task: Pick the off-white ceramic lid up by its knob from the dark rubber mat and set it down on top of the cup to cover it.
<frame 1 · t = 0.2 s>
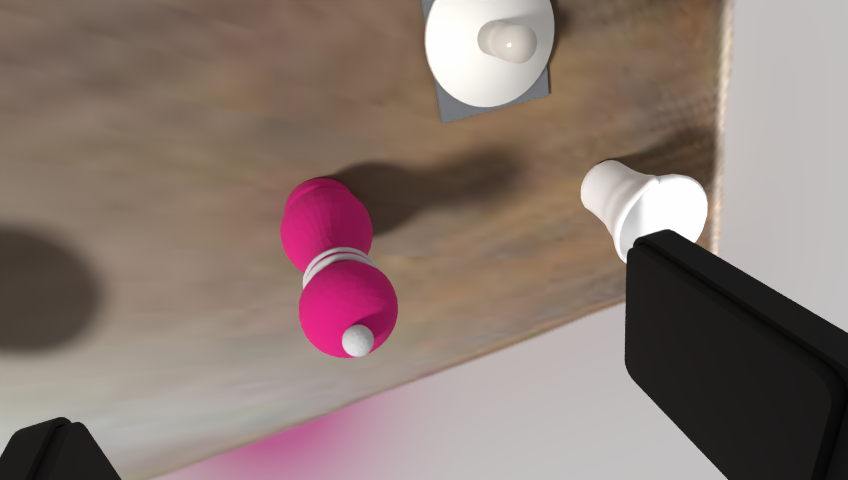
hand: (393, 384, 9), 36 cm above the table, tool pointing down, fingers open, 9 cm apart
mat: (486, 36, 43), on the table
cup: (598, 185, 53), on the table
pepper mill: (321, 210, 46), on the table
lid: (488, 37, 43), resting on mat
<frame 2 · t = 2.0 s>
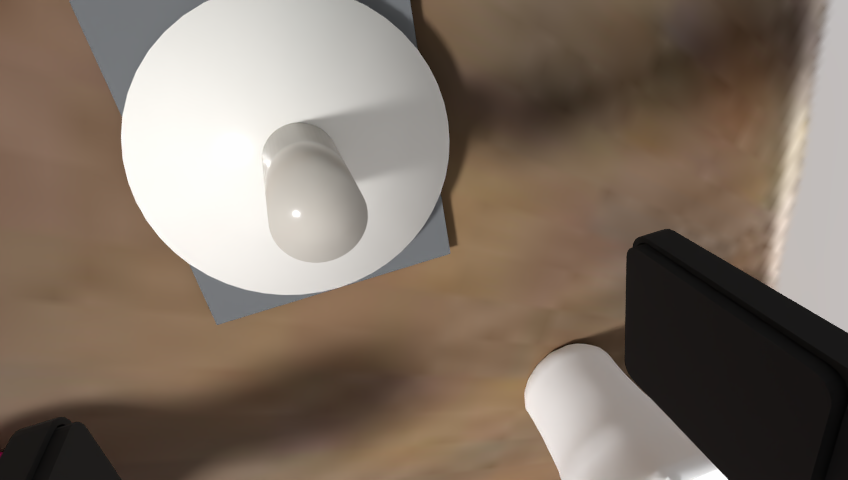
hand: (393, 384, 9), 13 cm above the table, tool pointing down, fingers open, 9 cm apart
mat: (297, 149, 19), on the table
cup: (557, 379, 30), on the table
lid: (298, 152, 19), resting on mat
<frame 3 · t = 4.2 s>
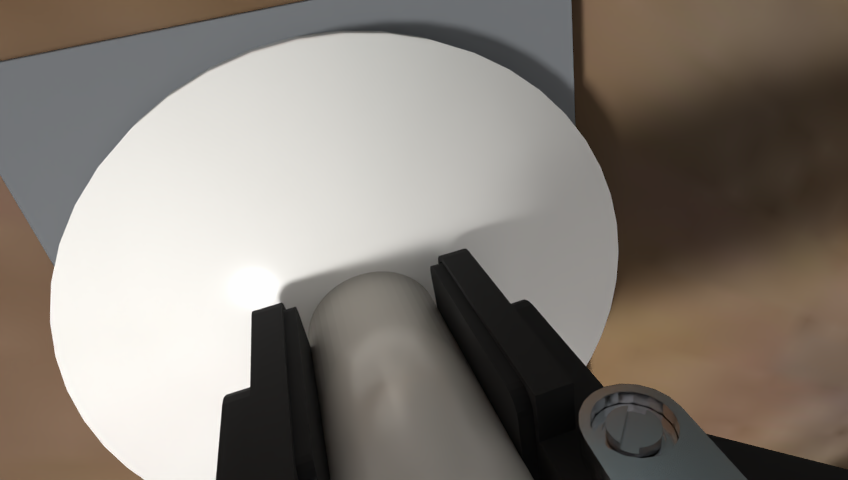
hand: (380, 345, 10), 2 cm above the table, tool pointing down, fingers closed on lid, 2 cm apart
mat: (364, 296, 12), on the table
lid: (367, 307, 11), point 1 cm above the table, touching gripper, mat
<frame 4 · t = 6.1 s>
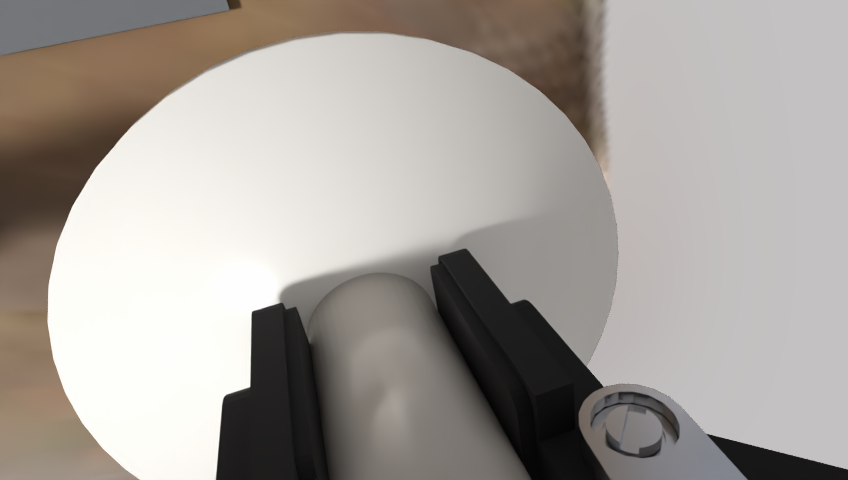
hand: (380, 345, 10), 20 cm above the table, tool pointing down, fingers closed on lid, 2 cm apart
lid: (366, 308, 11), point 19 cm above the table, touching gripper
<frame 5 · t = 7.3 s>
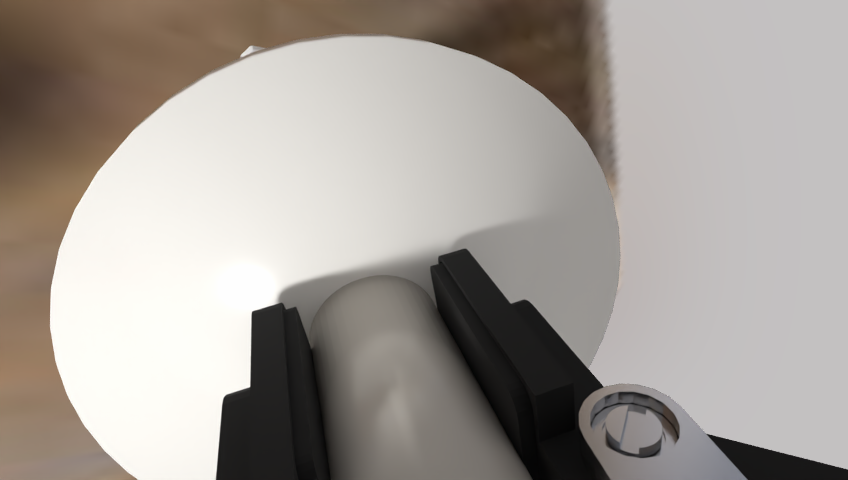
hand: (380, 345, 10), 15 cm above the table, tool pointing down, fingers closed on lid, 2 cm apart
lid: (368, 311, 11), point 14 cm above the table, touching gripper
when the fingers open (13 cm above the table, at t = 8.3 s): lid drops 2 cm, resting on cup.
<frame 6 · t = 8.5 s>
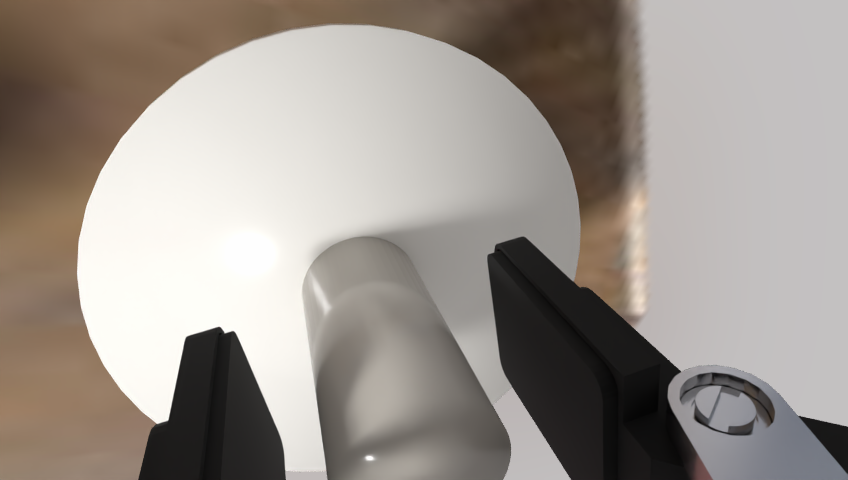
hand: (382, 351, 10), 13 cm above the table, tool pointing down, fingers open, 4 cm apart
lid: (355, 272, 12), point 10 cm above the table, touching cup
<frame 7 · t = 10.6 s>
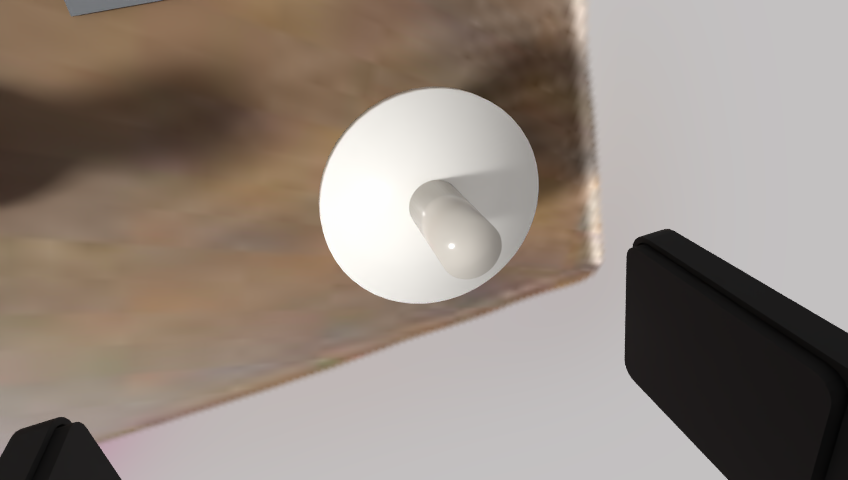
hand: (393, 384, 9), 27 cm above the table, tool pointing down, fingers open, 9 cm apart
lid: (430, 199, 26), point 10 cm above the table, touching cup
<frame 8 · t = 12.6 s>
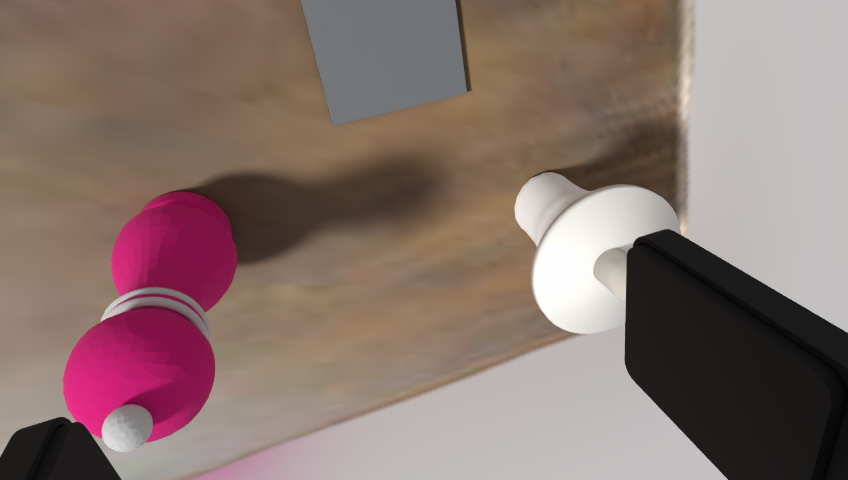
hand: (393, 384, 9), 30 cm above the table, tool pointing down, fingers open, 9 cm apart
mat: (383, 19, 35), on the table
cup: (536, 201, 45), on the table, touching lid
pepper mill: (185, 231, 38), on the table
lid: (603, 260, 36), point 10 cm above the table, touching cup
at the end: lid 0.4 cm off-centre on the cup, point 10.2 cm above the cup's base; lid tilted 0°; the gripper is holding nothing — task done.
